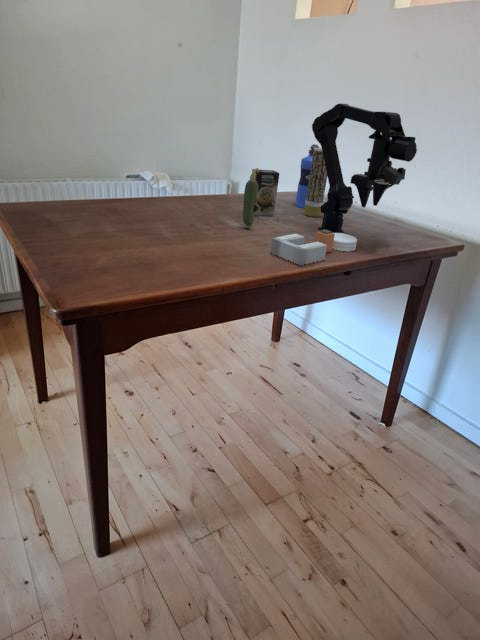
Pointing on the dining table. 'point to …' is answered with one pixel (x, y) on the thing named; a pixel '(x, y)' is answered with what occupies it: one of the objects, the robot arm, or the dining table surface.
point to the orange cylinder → (325, 238)
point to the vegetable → (250, 199)
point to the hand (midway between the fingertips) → (369, 206)
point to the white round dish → (344, 242)
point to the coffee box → (266, 192)
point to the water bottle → (304, 178)
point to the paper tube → (316, 185)
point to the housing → (298, 249)
